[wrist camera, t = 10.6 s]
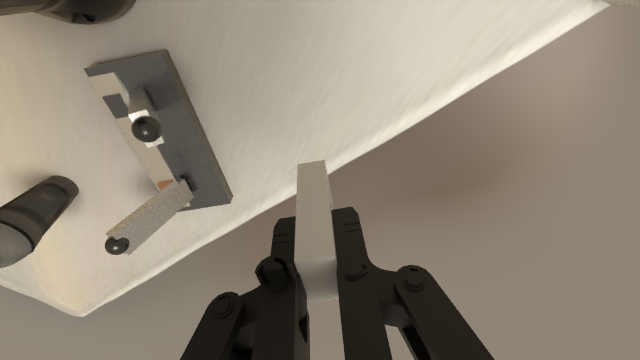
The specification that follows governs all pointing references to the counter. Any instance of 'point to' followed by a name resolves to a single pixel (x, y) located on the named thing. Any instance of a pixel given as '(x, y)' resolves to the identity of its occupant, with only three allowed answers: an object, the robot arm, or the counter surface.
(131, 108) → the inner lever
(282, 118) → the counter surface
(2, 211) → the beverage cup
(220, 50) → the counter surface
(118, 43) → the counter surface
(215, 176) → the switch base
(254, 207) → the counter surface
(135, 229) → the outer lever
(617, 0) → the gray rounded block
